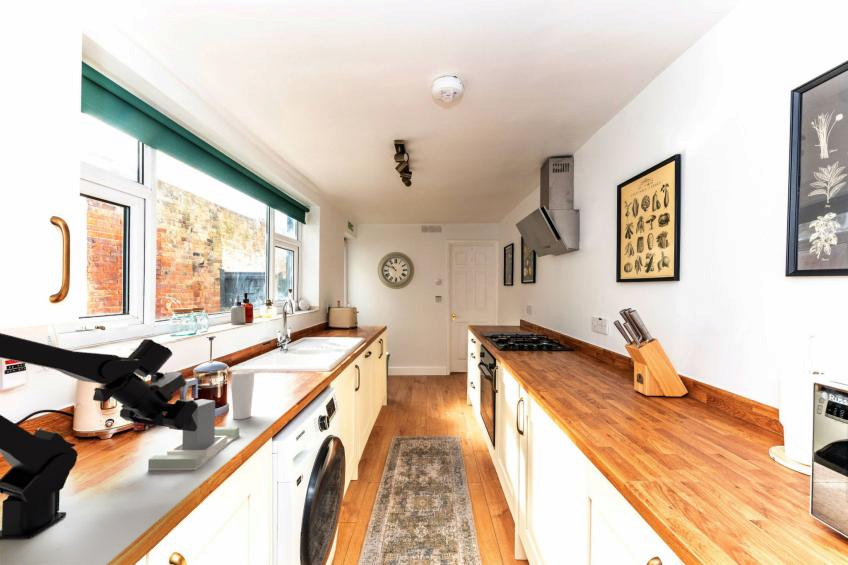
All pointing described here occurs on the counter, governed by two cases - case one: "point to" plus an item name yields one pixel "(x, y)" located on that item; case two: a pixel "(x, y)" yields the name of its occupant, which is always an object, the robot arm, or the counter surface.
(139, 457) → the counter surface
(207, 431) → the tall grey pillar block
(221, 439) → the tray
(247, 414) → the drinking glass
